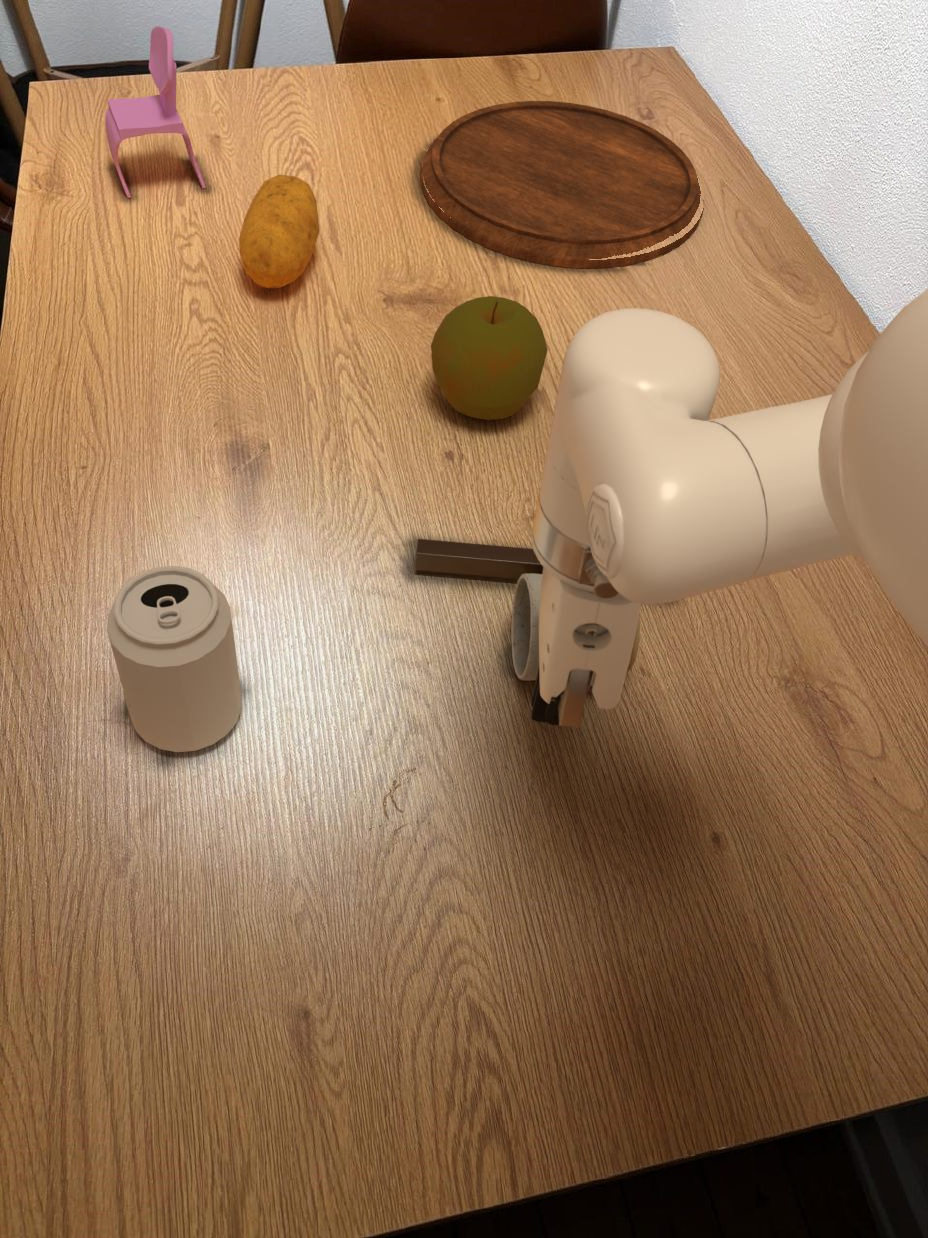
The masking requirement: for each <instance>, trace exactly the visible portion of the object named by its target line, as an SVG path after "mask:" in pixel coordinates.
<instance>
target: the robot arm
mask: <svg viewBox="0 0 928 1238" xmlns="http://www.w3.org/2000/svg"><path fill="white" fill-rule="evenodd" d="M720 376H721V374H720V363H719V360H718V357H717V354H716V351H715V349H714V347H713V346H712V344H711V343H710V341H709V339H708V338H706V337H705V335H704V334H703V333H701V332H700V331H699V330H698V329H697V328H696V327H694V326H693V325H691V324H689V323H688V322H687V321H686V320H683V319H681V318H679V317H678V316H675V315H673V314H670V313H668V312H664V311H661V310H656V309H651V308H643V307H642V308H640V307H629V308H628V307H627V308H625V307H624V308H619V309H613V310H609V311H606V312H603V313H600V314H598V315H596V316H594V317H592V318H591V319H589V320H587V321H586V322H585V323H584V324H583V325H582V326H580V327H579V328H578V329H577V330H576V332H575V333H574V334H573V337H571V339H570V340H569V343H568V345H567V348H566V351H565V354H564V357H563V361H562V365H561V372H560V376H559V382H558V388H557V394H556V399H555V405H554V409H553V415H552V421H551V424H550V425H551V426H550V431H549V437H548V442H547V447H546V452H545V458H544V465H543V469H542V475H541V480H540V485H539V490H538V494H537V501H536V505H535V512H534V517H533V522H532V528H531V533H530V534H531V535H530V537H531V538H530V542H531V546H532V549H533V550H534V553H535V554H536V556H537V558H538V560H539V562H540V563H541V564H542V566H543V573H542V581H541V591H540V606H539V668H538V673H537V677H536V680H535V683H534V687H533V690H532V696H531V707H532V708H531V720H532V722H535V723H545V724H548V725H551V726H558V727H567V728H577V729H578V728H579V729H580V727H581V722H582V717H583V712H584V708H585V703H586V699H587V695H588V693H589V691H590V687H591V693H592V695H593V698H594V701H595V703H596V705H597V708H598V709H599V710H613V709H615V708H616V707H617V706H618V704H619V703H620V699H621V697H622V696H621V695H622V692H623V689H624V685H625V680H626V677H627V674H628V672H627V669H628V665H629V661H630V657H631V653H632V648H633V644H634V640H635V635H636V630H637V625H638V619H639V616H640V613H641V608H642V607H641V606H642V605H662V604H668V603H673V602H678V601H681V600H685V599H688V598H689V599H690V598H692V597H693V598H694V597H696V596H699V595H704V594H708V593H711V592H715V591H718V590H719V591H720V590H722V589H726V588H730V587H734V586H738V585H741V584H744V583H746V582H749V581H752V580H756V579H761V578H765V577H769V576H773V575H776V574H779V573H780V574H781V573H784V572H788V571H792V570H796V569H800V568H804V567H807V566H812V565H815V564H820V563H824V562H829V561H833V560H838V559H841V558H845V557H850V556H853V555H856V557H858V558H859V559H860V560H861V561H862V562H863V563H864V564H866V565H867V566H868V568H869V569H870V571H871V573H872V574H873V576H874V578H875V579H876V581H877V583H878V584H879V585H880V587H881V588H882V590H883V591H884V592H885V594H886V595H887V597H888V598H889V599H890V601H891V602H892V604H893V606H894V607H895V608H896V610H897V612H899V614H900V615H901V616H902V618H903V619H904V621H905V622H906V623H907V625H908V626H909V627H910V628H911V629H912V631H913V632H914V633H915V634H916V635H917V637H918V638H919V639H920V640H921V641H922V642H923V643H924V645H925V646H926V647H927V648H928V288H926V289H924V290H923V292H921V293H920V294H919V295H918V296H916V297H915V298H914V299H912V300H911V301H909V302H908V303H907V304H906V305H905V306H903V307H902V308H901V310H900V311H899V312H898V313H897V315H895V317H893V318H892V320H891V321H890V322H889V323H888V325H886V327H885V328H884V329H883V330H882V332H881V333H879V335H878V336H877V337H876V339H875V340H874V342H873V343H872V345H871V347H870V349H869V350H868V351H867V352H865V353H864V354H863V355H862V356H861V357H860V358H859V359H858V360H857V361H856V362H854V364H853V365H852V366H851V367H850V368H849V369H848V371H847V372H846V373H845V374H844V376H843V377H842V378H841V380H840V381H839V383H838V384H837V386H836V388H835V390H833V393H831V394H827V395H824V396H819V397H814V398H810V399H805V400H801V401H796V402H791V403H786V404H780V405H774V406H769V407H763V408H760V409H755V410H750V411H745V412H741V413H736V414H731V415H727V416H722V417H717V418H712V419H710V417H711V415H712V411H713V409H714V405H715V402H716V398H717V395H718V392H719V391H718V390H719V387H720V386H719V385H720V382H721V381H720V379H721V377H720Z"/></svg>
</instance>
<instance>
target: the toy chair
mask: <svg viewBox="0 0 928 1238" xmlns="http://www.w3.org/2000/svg"><path fill="white" fill-rule="evenodd" d="M149 43H150V47H149V48H150V49H149V60H148V70H149V72H150V75H151V78H152V80H153V82H154V84H155V86H156V88H157V90H158V92H159V94H154V95H149V96H142V97H131V98H130V97H129V98H128V97H127V98H126V97H125V98H124V97H123V98H122V97H121V98H112V99H107V104H108V108H107V110H106V112H105V121H104V122H105V133H106V139H107V145H108V148H109V152H110V155H111V157H112V161H113V163H114V166H115V169H116V171H117V174H118V176H119V179H120V182H121V185H122V188H123V190H124V193H125V195H126V197H127V199H129V198H130V199H131V198H132V196H131V194H130V190H129V188H128V185H127V183H126V180H125V177H124V175H123V171H122V169H121V167H120V163H119V151H120V150H119V149H120V145H121V144H122V142H123V141H125V140H127V139H131V138H137V137H142V136H146V135H153V134H180V135H181V136H182V139H183V142H184V145H185V148H186V152H187V155H188V158H189V161H190V165H192V167H193V170H194V173H195V175H196V177H197V180H198V181H199V184H200V186H201V188H202V189H207V188H206V184H205V182H204V178H203V176H202V174H201V171H200V169H199V165H198V163H197V159H196V157H195V153H194V149H193V146H192V142H191V138H190V136H189V134H188V131H187V129H186V127H185V124H184V123H183V121H182V118H181V116H180V113H179V111H178V110H177V63H176V61H175V59H174V36H173V32H172V31H171V30H170V29H169V28H167V27H164V26H155V27H153V28H152V29H151V32H150V41H149Z"/></svg>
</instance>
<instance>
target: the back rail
mask: <svg viewBox="0 0 928 1238" xmlns="http://www.w3.org/2000/svg"><path fill="white" fill-rule="evenodd" d="M416 540H417V541H416V542H417V543H416V551H415V564H414V574H415V575H421V576H431V577H443V578H455V579H466V580H478V581H479V580H480V581H489V582H501V583H510V584H511V583H512V584H517V581H518V580H519V578H520V576H521V575H522V574H542V573H543V566H542V564H541V563H540V562H539V560H538V558H537V556H536V554H535V553H534V550H533V548H527V547H517V546H516V547H514V546H506V545H505V546H503V545H493V544H483V543H482V544H480V543H469V542H458V541H447V540H437V539H425V538H424V539H423V538H418V539H416Z"/></svg>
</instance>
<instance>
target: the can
mask: <svg viewBox="0 0 928 1238" xmlns="http://www.w3.org/2000/svg"><path fill="white" fill-rule="evenodd" d="M233 626H234V625H233V618H232V612H231V606H230V603H229V601H228V599H227V597H226V596H225V593H223V592H222V591H221V590H220V589H219V588H218V587H217V586H216V585H215V584H214V583H213V582H212V581H211V580H210V579H209V578H208V577H207V576H205V574H204V573H201V572H199V571H197V570H195V569H193V568H190V567H185V566H179V565H164V566H163V565H162V566H156V567H152V568H149V569H146V570H143V571H142V572H140V573H138V574H136V575H134V576H133V577H131V578H129V579H128V580H127V581H126V583H124V585H122V587H121V588H119V591H117V595H116V597H115V599H114V601H113V604H112V606H111V608H110V610H109V612H108V614H107V622H106V632H107V635H108V639H109V643H110V647H111V650H112V655H113V658H114V661H115V662H114V663H115V664H116V665H115V666H116V669H117V674H118V677H119V680H120V684H121V687H122V692H123V695H124V699H125V703H126V707H127V710H128V714H129V718H130V721H131V723H132V726H133V728H134V731H135V732H136V734H138V735H139V737H140V738H141V739H142V740H143V741H144V742H145V743H147V744H149V745H151V746H153V747H155V748H157V749H159V750H162V751H163V750H164V751H168V752H174V753H184V752H195V751H199V750H201V749H205V748H207V747H210V746H213V745H214V744H216V743H217V742H218V741H220V740H222V739H223V738H225V737H227V735H228V734H229V733H230V731H232V729H233V728H234V726H235V725H236V724H237V723H238V720H239V717H240V715H241V712H242V709H243V705H242V704H243V703H242V702H243V701H242V689H241V682H240V674H239V666H238V659H237V650H236V649H237V648H236V642H235V634H234V627H233Z"/></svg>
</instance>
